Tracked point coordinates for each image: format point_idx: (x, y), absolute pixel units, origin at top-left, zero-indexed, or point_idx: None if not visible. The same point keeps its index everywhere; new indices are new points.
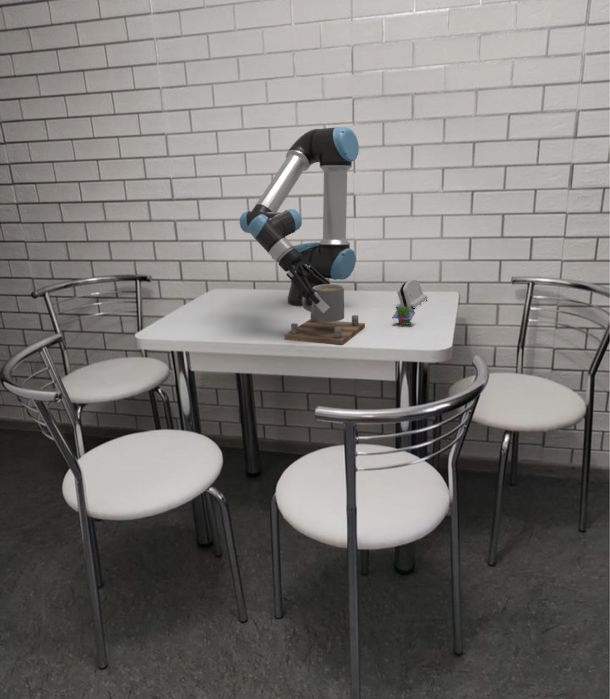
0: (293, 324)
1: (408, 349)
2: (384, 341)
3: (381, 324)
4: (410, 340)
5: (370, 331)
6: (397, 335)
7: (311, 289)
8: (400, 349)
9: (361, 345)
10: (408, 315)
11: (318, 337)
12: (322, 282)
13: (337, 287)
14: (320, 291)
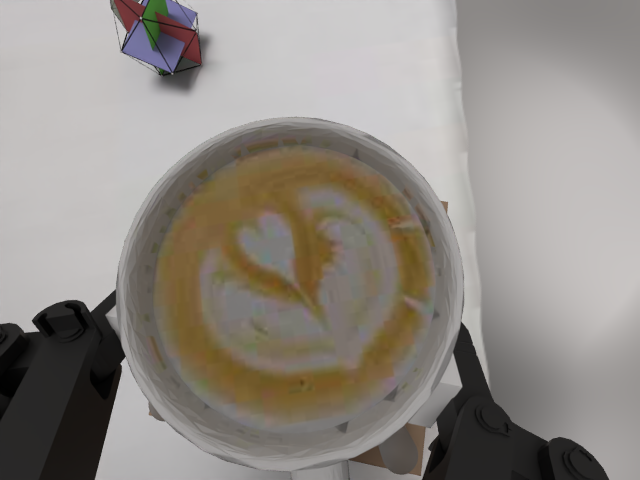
0: (405, 457)
1: (443, 14)
2: (376, 87)
3: (177, 126)
4: (353, 20)
5: None
6: (305, 61)
7: (478, 450)
8: (448, 34)
9: (432, 147)
10: (167, 13)
11: None
12: (77, 394)
13: (172, 210)
14: (457, 321)
